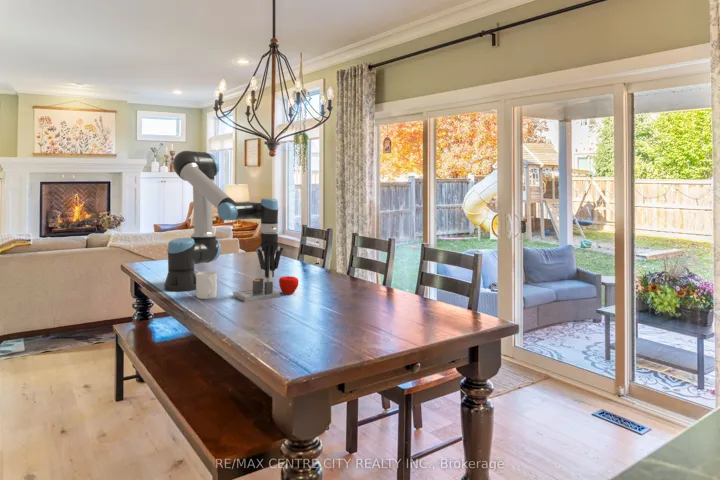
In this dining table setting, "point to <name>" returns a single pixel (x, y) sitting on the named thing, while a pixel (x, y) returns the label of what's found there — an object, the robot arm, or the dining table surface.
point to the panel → (254, 295)
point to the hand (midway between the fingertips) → (269, 284)
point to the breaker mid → (256, 286)
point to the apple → (288, 284)
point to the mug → (206, 285)
